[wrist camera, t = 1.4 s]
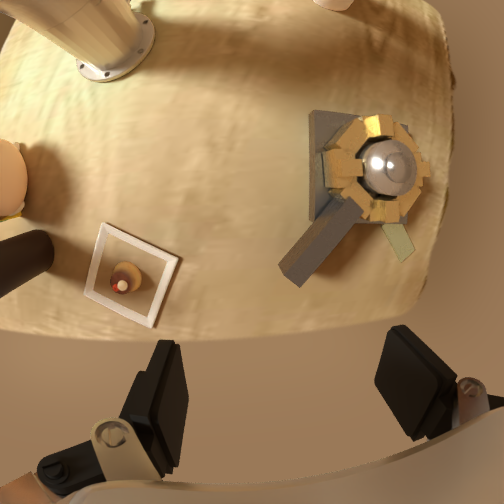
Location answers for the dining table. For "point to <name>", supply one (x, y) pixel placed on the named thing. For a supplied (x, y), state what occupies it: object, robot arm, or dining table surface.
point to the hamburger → (11, 180)
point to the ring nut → (350, 194)
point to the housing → (374, 173)
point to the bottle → (24, 259)
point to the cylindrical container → (334, 4)
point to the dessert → (128, 276)
